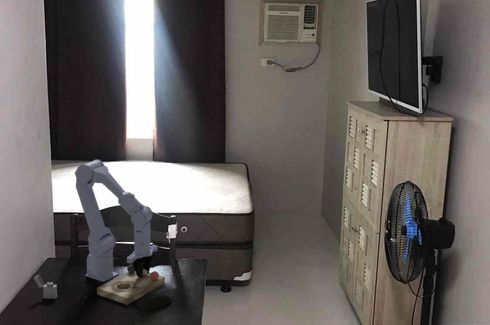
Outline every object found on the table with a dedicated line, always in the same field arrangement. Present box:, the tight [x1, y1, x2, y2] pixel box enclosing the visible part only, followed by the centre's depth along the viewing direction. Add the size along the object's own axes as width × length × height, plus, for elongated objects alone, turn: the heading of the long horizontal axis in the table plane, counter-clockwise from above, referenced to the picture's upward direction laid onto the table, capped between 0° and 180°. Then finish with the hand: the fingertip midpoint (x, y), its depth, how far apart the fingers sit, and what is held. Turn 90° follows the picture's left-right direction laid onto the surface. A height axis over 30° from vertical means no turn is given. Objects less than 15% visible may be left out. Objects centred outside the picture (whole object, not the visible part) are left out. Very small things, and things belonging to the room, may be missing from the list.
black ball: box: [126, 263, 135, 273], centre depth 196 cm, size 3×3×3 cm
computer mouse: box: [136, 289, 172, 312], centre depth 178 cm, size 6×11×4 cm, turn 131°
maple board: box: [96, 271, 166, 306], centre depth 189 cm, size 14×20×2 cm
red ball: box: [150, 270, 160, 280], centre depth 190 cm, size 3×3×3 cm
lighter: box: [33, 274, 58, 300], centre depth 180 cm, size 7×2×8 cm, turn 90°
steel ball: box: [142, 268, 147, 277], centre depth 193 cm, size 3×3×3 cm
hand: (142, 274), depth 193 cm, fingers closed on steel ball, 3 cm apart
